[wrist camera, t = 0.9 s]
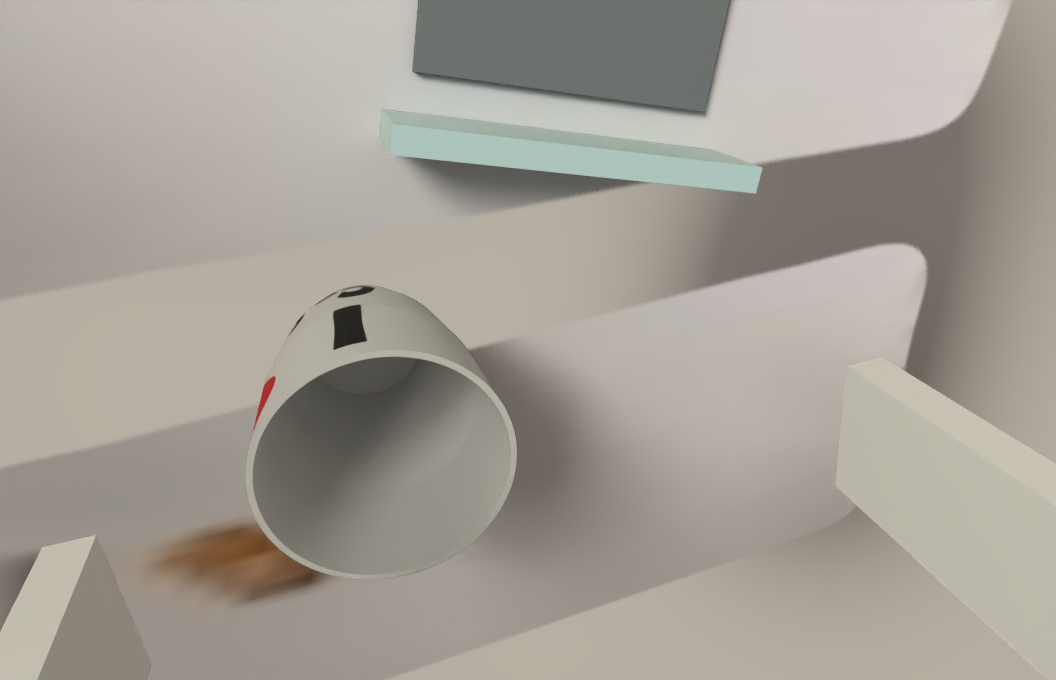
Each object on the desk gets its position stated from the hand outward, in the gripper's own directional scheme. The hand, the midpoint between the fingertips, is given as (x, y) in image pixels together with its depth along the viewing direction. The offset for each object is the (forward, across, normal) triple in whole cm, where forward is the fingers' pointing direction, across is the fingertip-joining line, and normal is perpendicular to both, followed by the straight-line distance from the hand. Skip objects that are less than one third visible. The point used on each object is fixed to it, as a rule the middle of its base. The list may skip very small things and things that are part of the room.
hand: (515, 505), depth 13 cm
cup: (+19, -2, -5) cm, 20 cm away
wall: (+19, +7, +2) cm, 20 cm away
